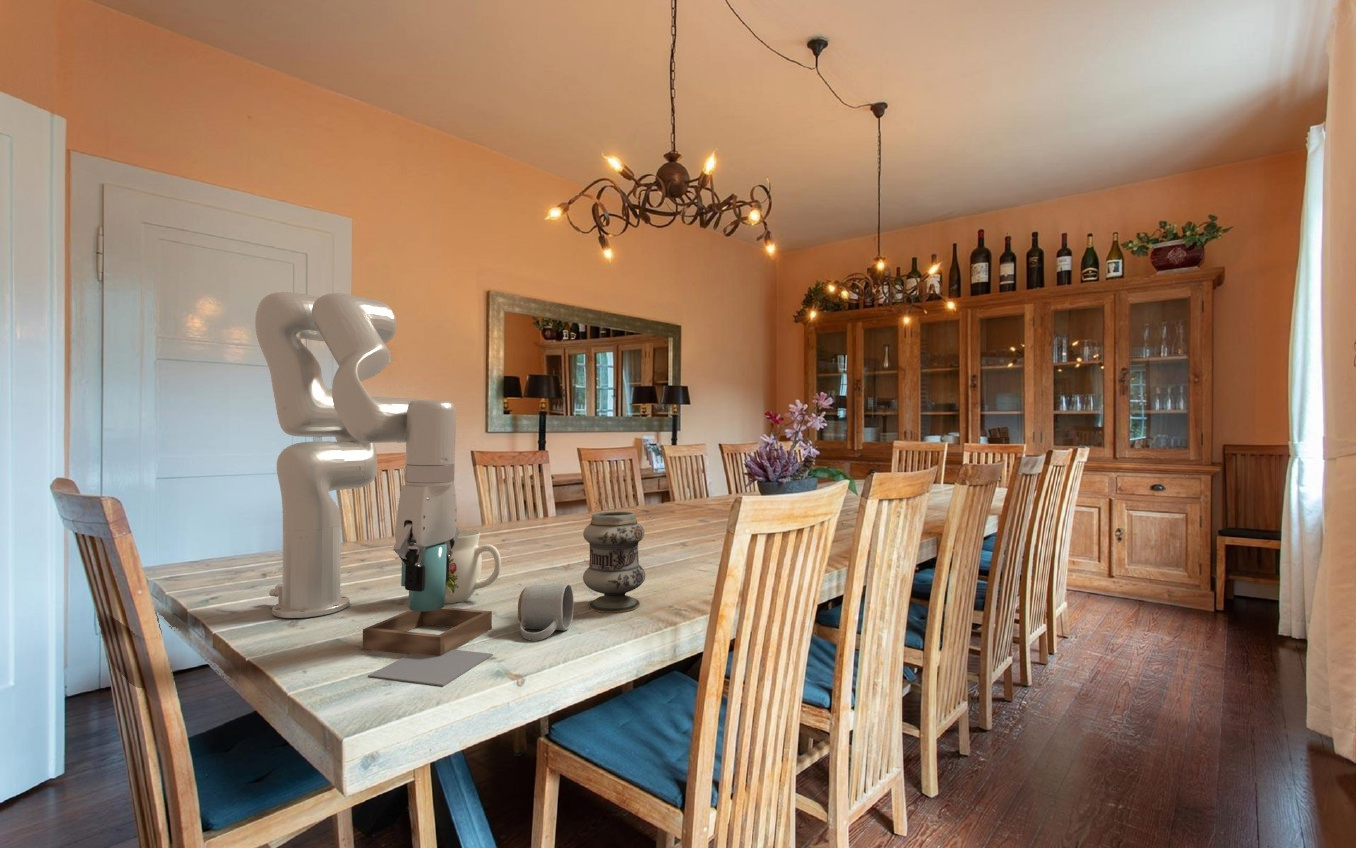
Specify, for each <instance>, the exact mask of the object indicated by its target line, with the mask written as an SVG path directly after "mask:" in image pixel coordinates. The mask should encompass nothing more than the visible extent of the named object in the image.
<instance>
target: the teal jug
mask: <svg viewBox="0 0 1356 848" xmlns="http://www.w3.org/2000/svg"><path fill="white" fill-rule="evenodd" d="M414 546H417V545H416V543H414ZM417 551H418V550H413V553H414V555H415V556H416V555H417ZM446 554H447V544H446V543H440V544H436V545H433V546H429V547H426V550H425V554H424V558H423V562H422V565H421V566H425V583H424V590H423V591H421V592H418V591H409V590H408V610H413V611H433V610H437V609H441V608H443V607H446V603H445V594H446ZM400 585H401V587H405V566H404V565H403V561H402V560H401V581H400Z"/></svg>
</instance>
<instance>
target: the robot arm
mask: <svg viewBox="0 0 1356 848" xmlns="http://www.w3.org/2000/svg"><path fill="white" fill-rule="evenodd" d="M254 324H255V328H254V329H255V334H256V338H257V341H258V345H259V348H260V349H261V352H262V354H263V356H264V358H265V361H266V364H267V367H268V369H269V374H270V379H271V385H272V387H271V388H272V391H273V397H274V403H275V408H276V415H277V419H278V424H279V426H280V428H281V430H282V432H284V433H285V435H286V434H287V435H288V436H293V437H305V438H308V437H309V438H312V437H315V438H317V437H318V438H323V437H324V438H326V437H328V438H331V437H333V438H335V440H336V441H329V440H327V441H323V440H321V441H304V442H303V441H302V442H297V443H294V444H291V445H289V446H287V447H286V448H284V449H283V450H281V452H280V453H279V455H278V456H277V458H276V475H277V479H278V484H279V489H280V493H281V505H282V506H281V507H282V508H281V509H282V583H279V584H277V585H275V587H274V588H272V589H270V591H269V596H270V597H276V598H278V601H277V602H278V603H276V604H275V605H273V607H272V609H271V610H272V612H271V613H272V615H273V616H275V617H277V618H282V619H283V618H284V619H305V618H306V619H307V618H314V617H319V616H325V615H330V614H334V613H336V612H337V613H338V612H339V611H342V610H345V609H346V608H348V607H349V605H350V598H349V597H348V596H346V595H342V594H341V567H342V566H341V561H342V560H341V559H342V557H341V556H342V554H341V549H342V548H341V543H342V542H341V541H342V539H341V537H342V534H341V533H342V532H341V531H342V530H341V529H342V527H341V526H342V525H341V523H342V520H341V519H342V518H341V516H342V515H341V511H340V508H339V506H338V504H337V503H336V502H335V501H334V499H333V498H332V496H331V495H330V493H329V492H332V491H333V492H334V491H341V490H342V491H344V490H353V489H359V488H360V489H361V488H364V487H367V486H369V485H370V484H371V483H372V482H373V481H374V480H375V478H376V476H377V471H378V456H377V450H376V444H378V443H379V444H382V443H383V444H384V443H388V444H389V443H397V444H399V443H400V444H401V443H403V444H404V443H405V469H404V471H405V474H404V477H405V478H404V484H403V485H402V486H401V489H400V490H401V491H400V493H399V494H400V495H399V499H398V505H397V511H396V519H395V520H396V523H395V544H394V545H393V548H392V549H393V551H394V553H396V554H397V555H398V556H399V557H398V558H399V559H400V560H401V562H402V561H403V565H404V566H405V586H404V588H405V591H408V592H409V591H418V592H421V591H423V590H424V583H425V566H421V565H422V562H423V558H424V554H425V550H426V547H429V546H433V545H436V544H440V543H446V544H447V554H446V582H447V581H449V558H448V557H451V555H452V548H453V546H454V543H455V540H456V539H457V537H458V535H459V530H458V529H459V528H458V525H457V523H458V516H457V515H458V509H457V508H458V507H457V496H456V495H457V494H456V487H455V472H456V470H455V467H456V465H455V464H456V463H455V462H456V429H457V428H456V427H457V426H456V424H457V423H456V421H457V409H456V406H455V404H454V403H453V402H452V401H448V400H442V399H441V400H439V399H416V398H400V397H389V396H387V397H386V396H383V397H382V396H371V395H370V394H369V393H368V391H367V389H366V388H365V387H364V384H363V383H362V382H364V381H366V380H369V379H371V378H373V377H375V376H376V375H379V374H380V373H381V372H382V371H384V369H385V368H386V367H387V365H388V364H389V362H390V358H391V357H390V351H389V349H388V347H387V345H386V344H387V343H389V342H390V341H391V340H393V338H394V337H395V334H396V332H397V328H398V327H397V326H398V322H397V318H396V315H395V312H394V311H393V310H392V308H391V307H390V306H389V305H388V304H386V303H385V302H383V301H381V300H378V299H373V298H368V297H363V296H358V295H353V294H348V293H341V292H333V293H326V294H324V295H321V296H320V297H319V296H315V295H310V294H305V293H304V294H303V293H298V292H291V291H290V292H288V291H287V292H286V291H285V292H284V291H282V292H273V293H269V294H268V295H266V296H264V297H263V298H262V299H261V300H260V302H259V303H258V306H257V309H256V312H255V321H254ZM302 339H303V340H308V341H318V342H323V343H324V342H325V344H326V346H327V348H328V350H329V351H330V353H331V354H332V357H333V359H334V360H335V362H336V364H337V365H338V368H337V369H336V372H335V374H334V377H333V380H332V384H331V386H332V387H331V388H328V387H327V386H326V385H325V384H324V383H325V382H324V379H323V373H322V368H321V365H320V363H319V361H318V360H317V358H316V357H315V355H314V354H313V353H312V352H311V350H310V349H309V348H308V347H307V346H306V345H304V343H303V342H302ZM414 544H416V545H417V546H414ZM413 550H418V551H417V555H416V556H415V555H414V553H413Z"/></svg>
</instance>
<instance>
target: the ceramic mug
mask: <svg viewBox="0 0 1356 848" xmlns="http://www.w3.org/2000/svg"><path fill="white" fill-rule="evenodd" d="M574 605H575V604H574V593H573V588H572V586H571V584H570V583H556V584H555V583H552V584H535V585H534V584H533V585H530V586H527V587H525V588H523V589H522V591H521V592H520V594H519V598H518V601H517V618H518V622H519V629H520V633H521V636H522V637H523V638H524V639H526V640H527V639H530V640H529V641H535V640H537V641H541V640H545V639H546V638H549V637H550V636H551V635H552V634H554V632H555V631H567V630H569V628H570V627H571V625H572V623H573V622H572V621H573V617H574V607H575V606H574ZM525 629H528V630H541V631H538V632H530V631H526V630H525Z"/></svg>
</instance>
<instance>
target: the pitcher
mask: <svg viewBox="0 0 1356 848" xmlns="http://www.w3.org/2000/svg"><path fill="white" fill-rule="evenodd" d="M458 530H459V535H458V537H457V539H456V540H455V543H454V546H453V548H452V555H451V557H448V558H449V581H447V582H446V594H445V604H456V602H457V603H462V602H466V601H468V600H470V599H471V598H472V596H473V594H475V592H476V591H477V590H479V589H482V588H483V589H484V588H485V587H488V586H490V585H491V584H493V583H494V582H495V581H496V580H497V579H498V578H499V575H500V573H501V569H502V558H501V554H500V552H499V550H498V549H497V547H495V545H492V544H484V545H481V546H479V542H480V541H479V540H480V537H481V531H480V530H477V529H469V528H468V529H467V528H458ZM483 552H490V553H491V554H492V557H493V559H494V569H493V571H492V574H491V575H490V576H489V577H487V578H486V579H485V580H480V579H481V575H482V569H483V568H482V567H483V557H482V553H483Z"/></svg>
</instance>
